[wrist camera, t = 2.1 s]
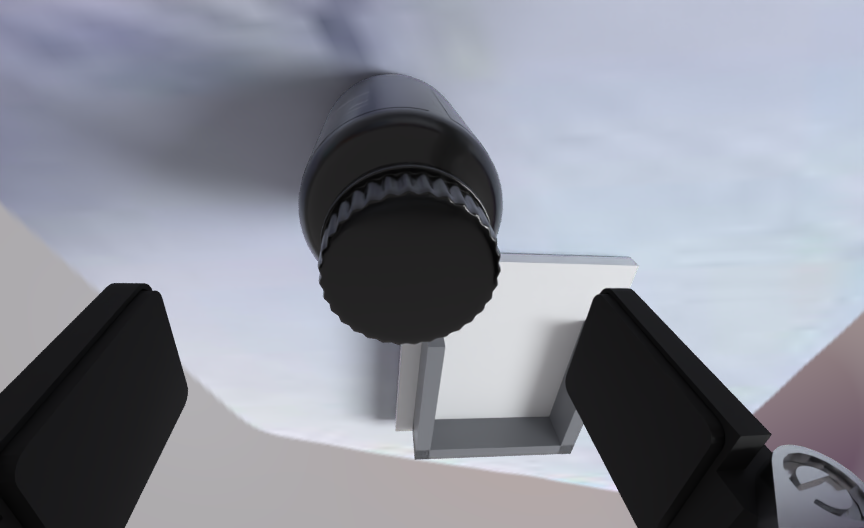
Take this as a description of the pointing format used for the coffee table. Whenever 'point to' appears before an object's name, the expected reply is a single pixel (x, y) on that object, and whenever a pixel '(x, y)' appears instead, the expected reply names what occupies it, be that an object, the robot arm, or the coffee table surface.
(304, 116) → the coffee table surface
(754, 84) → the coffee table surface
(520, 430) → the cradle tray
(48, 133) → the coffee table surface
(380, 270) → the supplement bottle
